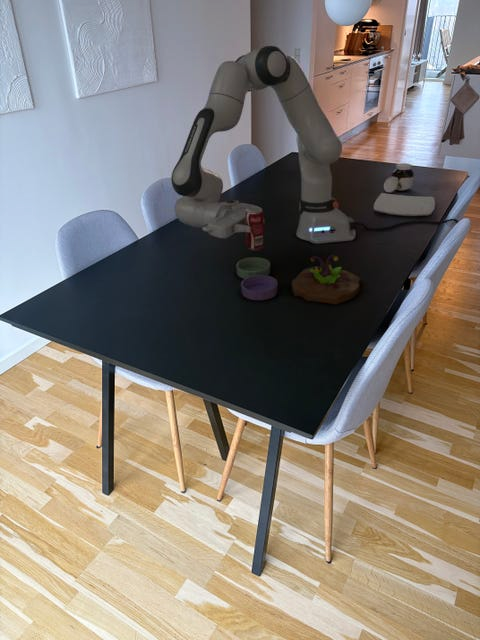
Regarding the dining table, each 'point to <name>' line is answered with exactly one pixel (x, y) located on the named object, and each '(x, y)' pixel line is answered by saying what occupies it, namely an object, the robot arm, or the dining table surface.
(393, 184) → the spread jar
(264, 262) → the green bowl
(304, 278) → the plant
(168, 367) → the dining table surface
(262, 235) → the soda can
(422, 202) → the plate
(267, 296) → the lavender bowl
